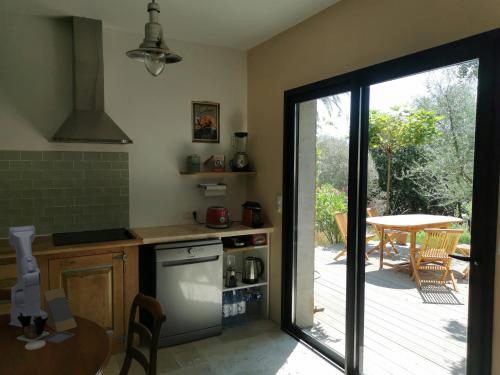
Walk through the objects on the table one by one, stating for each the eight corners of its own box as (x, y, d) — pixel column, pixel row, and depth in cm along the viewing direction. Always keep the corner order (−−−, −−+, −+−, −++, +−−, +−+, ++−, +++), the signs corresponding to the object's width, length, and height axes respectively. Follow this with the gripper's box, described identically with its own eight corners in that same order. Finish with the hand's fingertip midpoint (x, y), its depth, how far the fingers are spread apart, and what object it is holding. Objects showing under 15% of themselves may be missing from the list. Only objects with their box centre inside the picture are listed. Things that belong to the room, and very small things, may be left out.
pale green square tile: (16, 340, 157) (16, 337, 157) (35, 331, 165) (35, 329, 165) (31, 343, 154) (31, 341, 154) (49, 335, 162) (49, 332, 162)
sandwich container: (57, 334, 163) (56, 299, 162) (44, 324, 174) (43, 291, 173) (78, 328, 169) (77, 294, 169) (63, 318, 180) (62, 287, 179)
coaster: (20, 348, 150) (20, 346, 150) (37, 341, 156) (36, 338, 156) (33, 352, 147) (33, 349, 147) (49, 344, 153) (49, 341, 153)
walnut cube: (24, 337, 158) (24, 326, 158) (34, 333, 163) (34, 322, 162) (32, 339, 157) (32, 328, 156) (42, 335, 161) (41, 324, 161)
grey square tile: (42, 341, 156) (42, 339, 156) (60, 333, 164) (60, 330, 164) (58, 345, 153) (58, 342, 153) (75, 336, 161) (74, 334, 160)
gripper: (10, 301, 158) (12, 334, 159) (36, 306, 152) (37, 339, 153) (26, 296, 164) (27, 327, 165) (51, 300, 159) (52, 332, 160)
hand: (33, 333), depth 160 cm, fingers open, 7 cm apart
